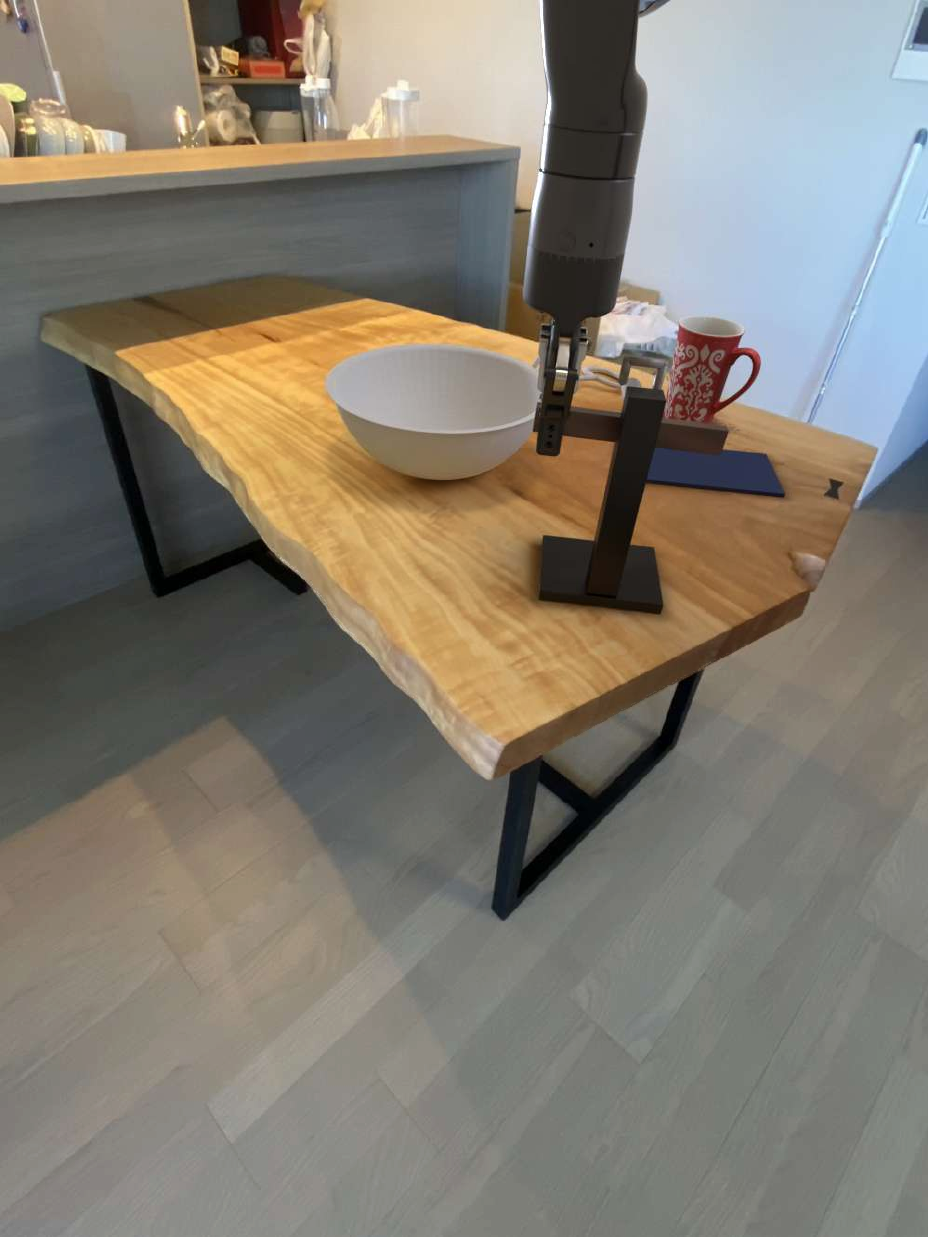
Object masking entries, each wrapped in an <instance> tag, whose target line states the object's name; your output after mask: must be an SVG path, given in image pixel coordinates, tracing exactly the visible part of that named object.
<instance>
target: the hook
mask: <svg viewBox="0 0 928 1237" xmlns="http://www.w3.org/2000/svg"><path fill="white" fill-rule="evenodd" d="M539 364H540V357H539V355H538V356H537V357H536V358H535V360H534V361H533V362H532V365H531V366H532V367H533V368H535V369H537V368H538V367H539ZM594 372H598V373H601V374H605V375H608V376H611V377H612V378H615V379H616V380H618V379H619V374H620V373H618V372H616V371H614V370H611V369H609V368H607V367H603V366H598V365H586V366H584V367H583V368H582V373H583V375H580V377H579V382H588V381H592V382H598V383H599V384H602V385H604V386H607V387H609V388H614V389H619V390H621V385H619V383H618V382H614V381H611V380H609V379H606V378H603V377H602V376H599V375H596V374H595V373H594Z"/></svg>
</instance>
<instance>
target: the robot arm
mask: <svg viewBox="0 0 928 1237" xmlns="http://www.w3.org/2000/svg"><path fill="white" fill-rule="evenodd" d="M670 1H671V0H539V1H538V2H539V17H540V18H539V19H540V34H541V49H542V62H543V72H544V80H545V89H546V104H545V110H544V116H543V124H542V135H541V142H540V143H541V144H540V152H539V163H538V164H539V165H538V166H539V169H538V171H537V179H536V183H535V187H534V193H533V197H532V201H531V207H530V208H531V209H530V210H531V211H530V219H529V228H528V236H527V237H528V239H527V246H526V247H527V248H526V258H525V267H524V268H525V269H524V277H523V287H522V300H523V302H524V304H525V305H526V306H527V307H528V308H530V309H531V310H533V311H535V312H537V313H539V314H547V315H549V317H551V320H550V321H549V323H541V326H540V333H539V343H538V352H537V355H538V356H539V357H540V363H539V365H538V371H539V373H538V384H537V388H538V390H539V391H540V392H541V394H540V396H539V399H541V401H540V402H541V405H540V406H539V408H538V413H540V414H539V416H540V422H539V429H538V432H537V433H536V434H537V435H536V446H535V452H536V454H537V455H539V456H543V457H555V458H556V457H558V456H559V455H560V454H561V448H562V443H563V437H564V436H563V430H564V424H565V420H568V417H569V416H570V414H571V410H570V408H571V406H572V402H573V398H574V395H575V394H577V392H578V390H579V389H578V388H579V382H580V381H579V377H580V376H581V370H582V364H583V362H584V361H585V360H586V358H587V352H588V345H589V337H588V332H589V331H588V330H589V328H588V327H585V326H584V327H583V326H582V323H583V321H584V320H586V319H589V318H593V319H597V318H601V317H605V316H607V315H608V314H610V313H611V312H612V311H613V310H614V309H615V307H616V304H617V299H618V293H619V288H620V283H621V277H622V271H623V266H624V261H625V257H626V256H625V255H626V249H627V244H628V238H629V233H630V228H631V222H632V217H633V209H634V193H635V183H636V175H637V169H638V164H639V159H640V153H641V147H642V143H643V137H644V131H645V125H646V119H647V112H648V102H649V101H648V100H649V99H648V98H649V95H648V87H647V84H646V81H645V79H643V77H642V76H641V75H640V73H639V72H638V70H637V66H636V58H637V46H638V45H637V42H638V30H639V19H642V18H645V17H647V16H648V15H651V14H653V13H655V12H656V11H657V10H660V8H662V7H664V6H665V5H667V4H668V3H669V2H670Z"/></svg>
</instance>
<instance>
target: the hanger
mask: <svg viewBox="0 0 928 1237" xmlns="http://www.w3.org/2000/svg"><path fill="white" fill-rule="evenodd" d="M632 367H640V368H641V367H642V368H649V369H656V372H655V376H654V379H653V383H652V388H651V389H660V390H663V385H664V382H665V379H666V375H667V370H668V367H669V361H668V360H667V359H664V358H657V357H649V356H640V355H633V354H626V355H624V356H623V358H622V361H621V366H620V371H619V373H618V374H619V379H617V383H619V385H621V386H624V385H626V384H627V382H628V378H630V373H631V368H632ZM540 405H541V402H537V404H536V411H535V417H534V424H533V432H532V433H538V429H539V422H540V416H539V414H540V413H538V408H539V406H540ZM570 410H571V414H570V416H569V417H568V420H565V424H564V430H563V437H568V438H569V437H570V438H576V439H577V438H578V439H585V440H593V441H600V442H607V443H608V442H610V443H615V439H616V435H617V430H618V425H619V421H620V416H621V411H614V410H606V409H605V410H604V409H597V408H589V407H582V406H573V405H571V408H570ZM729 434H730V431H729V429H728V425H724V424H716V423H711V424H708V423H700V422H692V421H684V420H676V419H669V418H664V417H663V418H662V422H661V425H660V429H659V433H658V437H657V441H656V445H655V448H662V449H670V450H678V451H686V452H694V453H701V454H709V455H717V456H720V455H721V452H722V450H723V449H724V447H725V444H726V441H727V438H728V436H729Z"/></svg>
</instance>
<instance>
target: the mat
mask: <svg viewBox="0 0 928 1237" xmlns="http://www.w3.org/2000/svg"><path fill="white" fill-rule="evenodd" d="M646 484H655V485H667V486H676V487H684V488H693V489H703V490H711V491H712V490H713V491H721V492H732V493H742V494H751V495H758V496H759V495H761V496H767V497H769V496H770V497H777V498H779V497H780V498H784V497H785V496H786V492H785V490H784V488H783V486H782V484H781V481H780V480H779V478H778V476H777V473H776V471H775V469H774V467H773V465H772V462H771V461H770V459H769V456H768V454H767V453H762V452H752V451H743V450H735V449H724V448H723V450H722V452H721V455H720V456H717V455H709V454H701V453H694V452H686V451H678V450H670V449H662V448H655V449H654V453H653V457H652V461H651V465H650V469H649V473H648V477H647V481H646Z"/></svg>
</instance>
